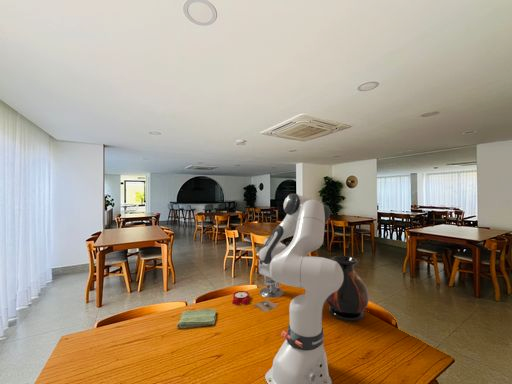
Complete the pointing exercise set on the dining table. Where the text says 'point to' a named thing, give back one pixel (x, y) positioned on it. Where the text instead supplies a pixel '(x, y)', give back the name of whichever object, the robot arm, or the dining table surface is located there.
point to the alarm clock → (240, 297)
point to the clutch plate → (270, 284)
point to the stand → (266, 305)
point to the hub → (271, 292)
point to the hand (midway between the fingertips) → (271, 284)
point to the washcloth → (197, 318)
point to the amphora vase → (348, 293)
